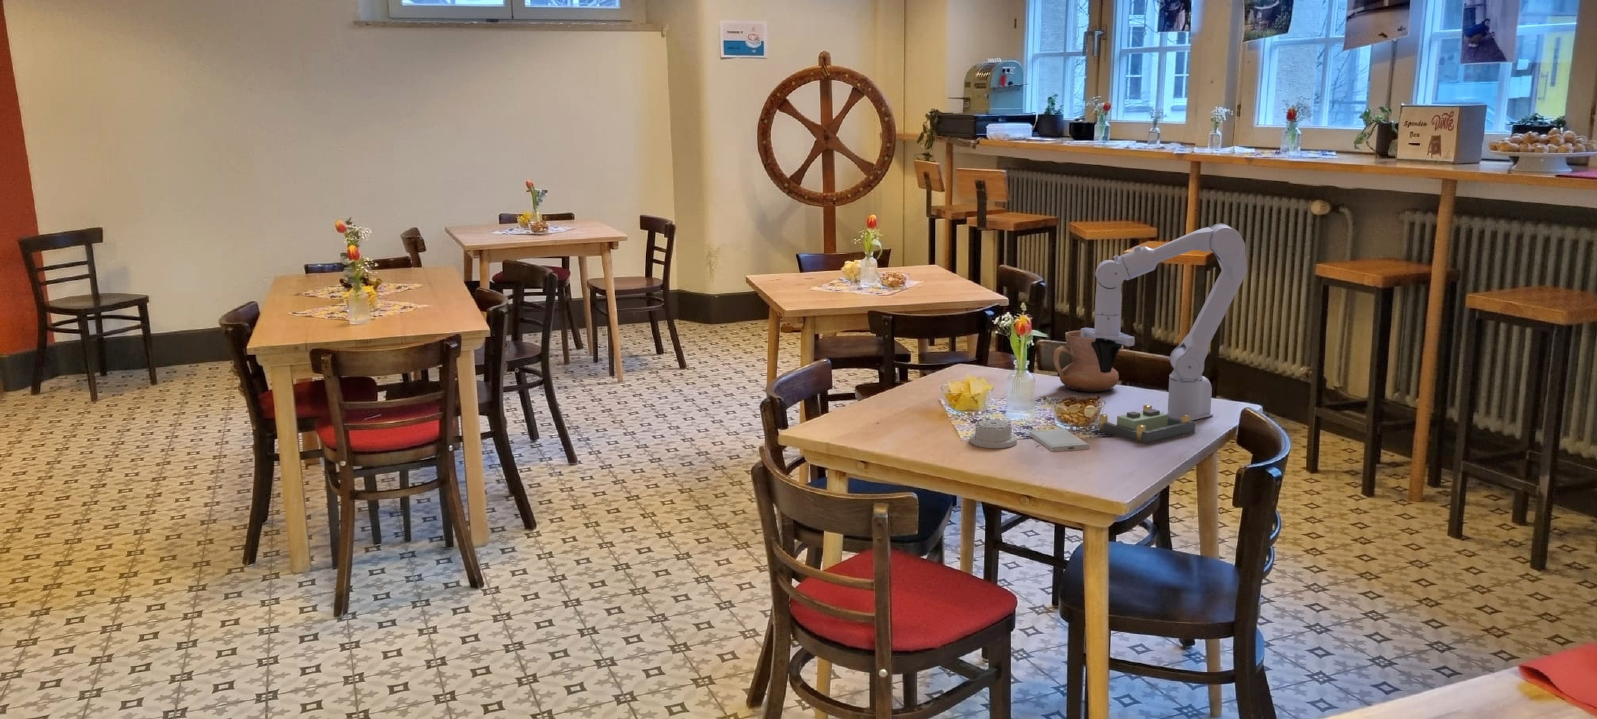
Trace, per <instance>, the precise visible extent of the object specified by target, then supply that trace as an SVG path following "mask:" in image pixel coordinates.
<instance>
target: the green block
mask: <svg viewBox="0 0 1597 719" xmlns="http://www.w3.org/2000/svg"><path fill="white" fill-rule="evenodd" d="M1160 412H1161V411H1160V410H1159V409H1155V408H1152V409H1150V410H1145V411H1143V410H1142V411H1137V412H1136V411H1128V412H1126V414H1122V415H1118V416H1116V425H1119V426H1122V427H1126V428H1129V429H1133V430H1137V425H1145V426H1146V430H1145V431H1148V430H1153V429H1157V428H1161V427H1166V426H1167V422H1168V415H1167V414H1164V413H1160Z"/></svg>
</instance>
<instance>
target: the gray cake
mask: <svg viewBox="0 0 1597 719" xmlns="http://www.w3.org/2000/svg"><path fill="white" fill-rule="evenodd" d="M969 443H970V444H971V445H973V446H975V447H980V448H985V449H1005V448H1010V447H1014V446H1015V445H1017V444H1018V436H1017V435H1016V434H1015V433H1013V431H1012V423H1009V421H1007V420H1006V421H1005V419H1004V420H1001V419H982V420H979V421H977V422H976V423H975V432H972V433H971V434H970V435H969Z"/></svg>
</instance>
